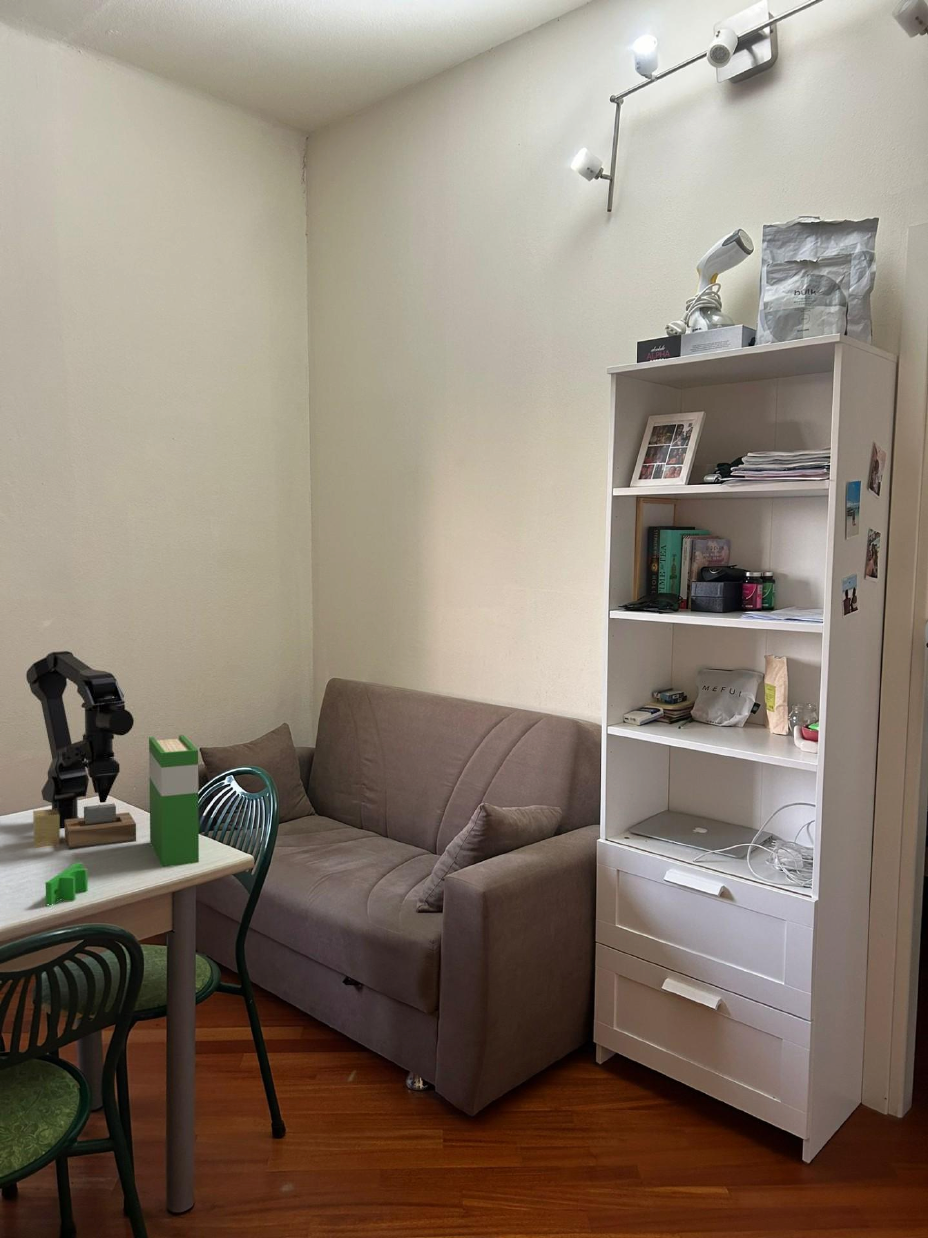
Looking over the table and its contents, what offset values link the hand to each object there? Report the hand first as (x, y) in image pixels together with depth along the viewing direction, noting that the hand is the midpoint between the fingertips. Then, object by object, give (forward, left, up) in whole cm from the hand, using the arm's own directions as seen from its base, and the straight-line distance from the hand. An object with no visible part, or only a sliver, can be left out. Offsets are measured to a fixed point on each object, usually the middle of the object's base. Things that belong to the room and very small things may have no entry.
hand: (99, 797), depth 211 cm
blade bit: (0, 0, -9) cm, 9 cm away
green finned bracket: (+34, -10, -10) cm, 36 cm away
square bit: (-2, -11, -10) cm, 15 cm away
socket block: (0, 0, -10) cm, 10 cm away
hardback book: (+16, +13, -10) cm, 23 cm away
